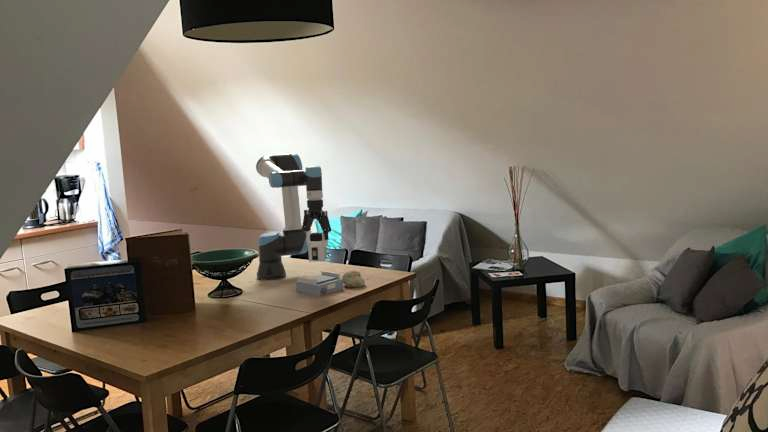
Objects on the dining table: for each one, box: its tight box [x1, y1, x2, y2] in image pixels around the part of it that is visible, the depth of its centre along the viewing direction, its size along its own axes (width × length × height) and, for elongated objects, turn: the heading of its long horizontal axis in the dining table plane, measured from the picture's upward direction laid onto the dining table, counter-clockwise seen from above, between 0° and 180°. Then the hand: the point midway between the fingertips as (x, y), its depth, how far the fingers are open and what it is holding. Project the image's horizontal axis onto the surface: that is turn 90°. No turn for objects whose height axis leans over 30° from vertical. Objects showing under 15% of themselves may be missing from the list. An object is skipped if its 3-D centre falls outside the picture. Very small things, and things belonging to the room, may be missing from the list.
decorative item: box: [341, 270, 366, 289], centre depth 327 cm, size 12×9×10 cm
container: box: [307, 231, 328, 263], centre depth 319 cm, size 8×8×13 cm
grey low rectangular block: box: [294, 270, 344, 297], centre depth 321 cm, size 17×16×7 cm
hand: (317, 245), depth 319 cm, fingers closed on container, 10 cm apart
